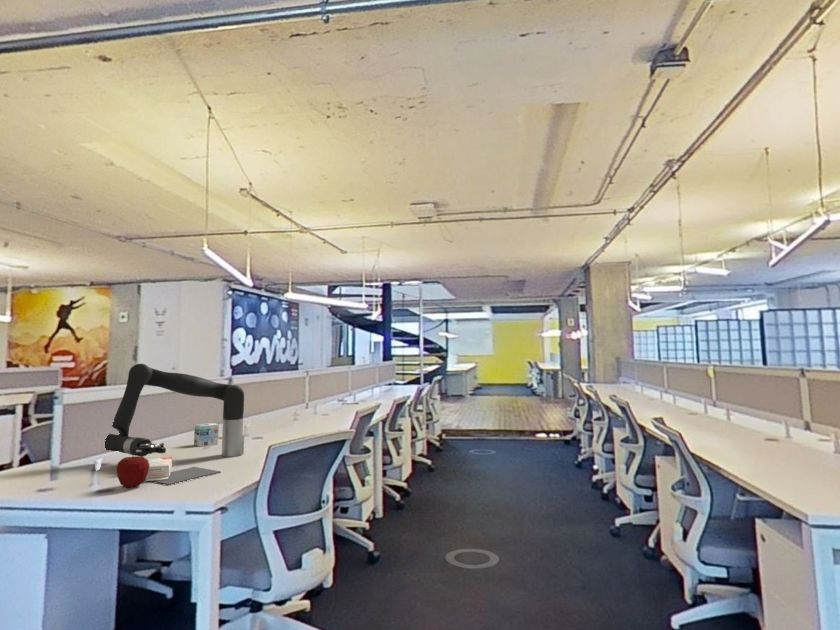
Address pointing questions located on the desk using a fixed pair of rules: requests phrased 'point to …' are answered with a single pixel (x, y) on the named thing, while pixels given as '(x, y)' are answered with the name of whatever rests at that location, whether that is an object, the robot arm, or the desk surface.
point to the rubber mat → (186, 475)
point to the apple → (132, 471)
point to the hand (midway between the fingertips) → (164, 450)
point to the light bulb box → (206, 434)
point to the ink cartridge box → (159, 468)
